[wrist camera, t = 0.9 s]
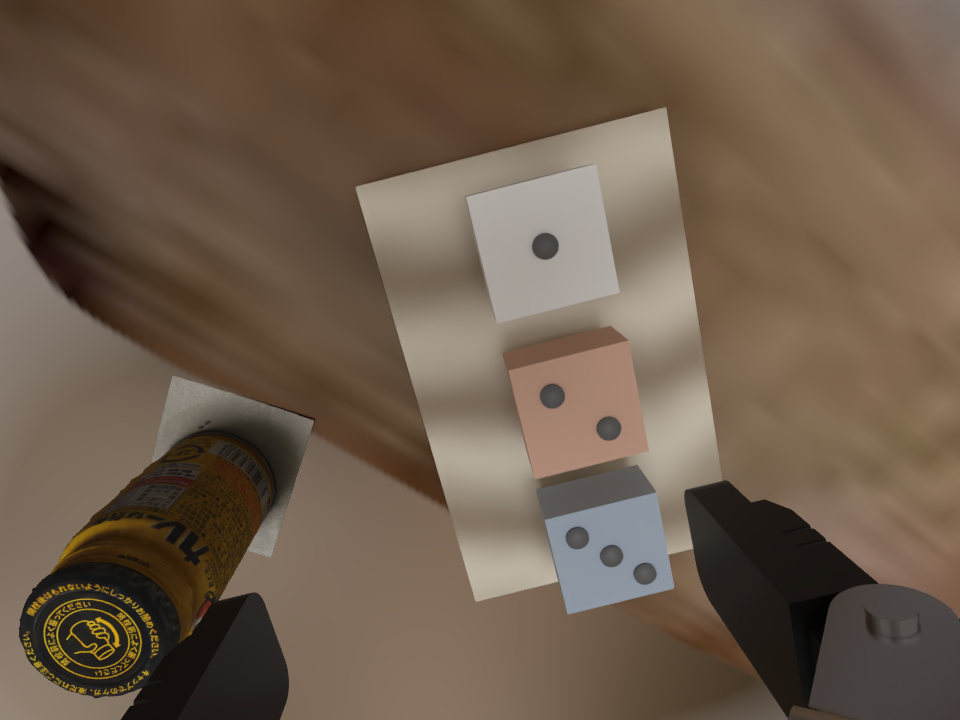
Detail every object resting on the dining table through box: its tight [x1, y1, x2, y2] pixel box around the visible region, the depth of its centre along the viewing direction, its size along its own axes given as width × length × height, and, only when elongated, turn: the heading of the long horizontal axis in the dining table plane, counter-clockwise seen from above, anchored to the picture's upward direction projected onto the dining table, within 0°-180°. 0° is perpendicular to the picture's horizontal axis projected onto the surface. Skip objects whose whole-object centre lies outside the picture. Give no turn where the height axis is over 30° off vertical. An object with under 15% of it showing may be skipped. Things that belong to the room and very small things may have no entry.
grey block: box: [536, 465, 674, 614], centre depth 29 cm, size 5×5×3 cm
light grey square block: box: [464, 164, 620, 324], centre depth 25 cm, size 5×5×3 cm
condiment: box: [19, 375, 314, 698], centre depth 27 cm, size 7×8×12 cm
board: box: [355, 107, 722, 602], centre depth 30 cm, size 22×14×4 cm, turn 14°
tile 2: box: [502, 326, 649, 479], centre depth 27 cm, size 5×5×3 cm
